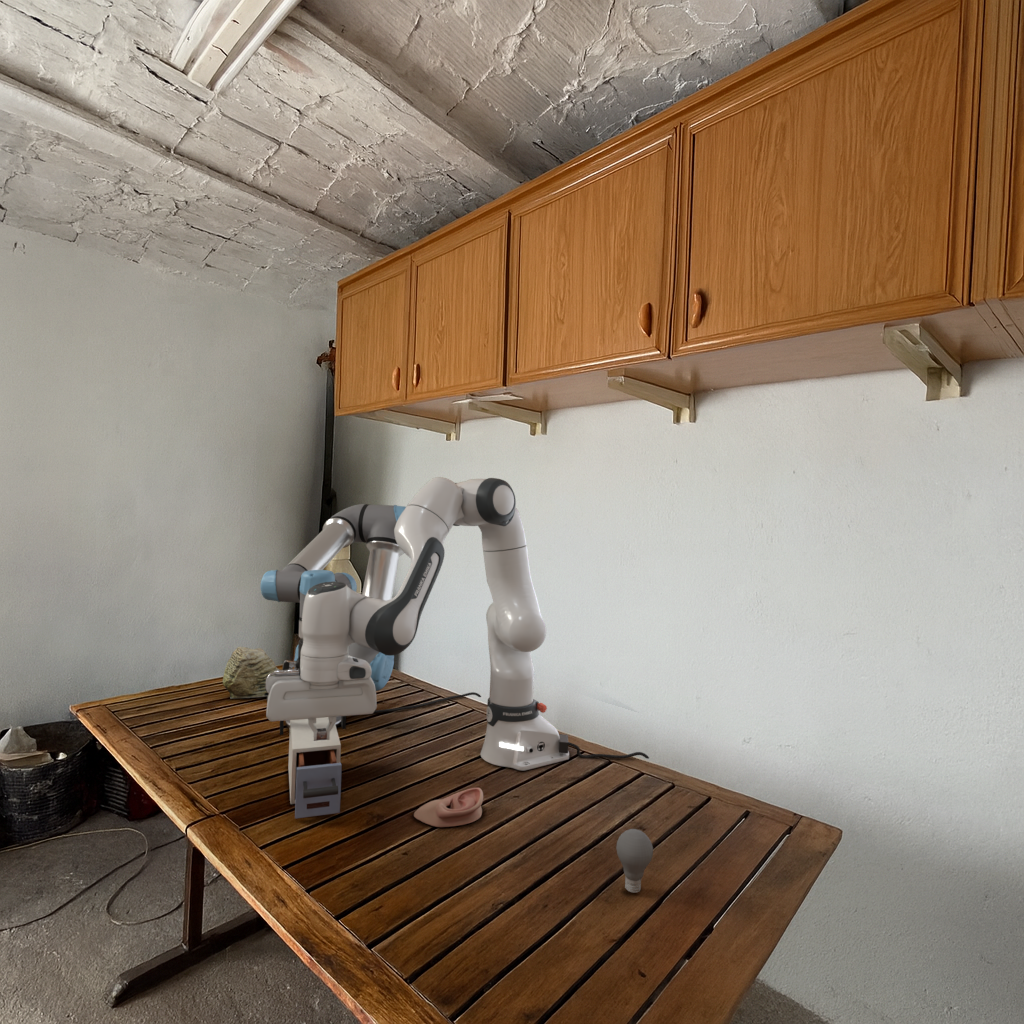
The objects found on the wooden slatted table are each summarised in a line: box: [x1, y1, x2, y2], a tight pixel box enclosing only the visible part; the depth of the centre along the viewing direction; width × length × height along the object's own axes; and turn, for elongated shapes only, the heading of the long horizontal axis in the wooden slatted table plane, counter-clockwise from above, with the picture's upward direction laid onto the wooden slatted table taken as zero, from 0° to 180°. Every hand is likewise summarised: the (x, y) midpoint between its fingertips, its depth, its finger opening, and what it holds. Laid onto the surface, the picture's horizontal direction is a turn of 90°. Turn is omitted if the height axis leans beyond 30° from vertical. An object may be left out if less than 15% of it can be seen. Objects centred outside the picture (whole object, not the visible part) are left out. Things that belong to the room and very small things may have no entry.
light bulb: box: [615, 828, 654, 894], centre depth 106 cm, size 6×6×10 cm
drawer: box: [294, 749, 343, 820], centre depth 130 cm, size 23×8×10 cm, turn 21°
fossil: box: [222, 646, 280, 699], centre depth 198 cm, size 9×18×15 cm, turn 132°
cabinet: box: [287, 717, 342, 805], centre depth 140 cm, size 18×10×11 cm, turn 21°
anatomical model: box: [413, 787, 484, 828], centre depth 129 cm, size 13×4×12 cm
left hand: (312, 730), depth 146 cm, fingers open, 13 cm apart
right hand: (321, 739), depth 121 cm, fingers closed
